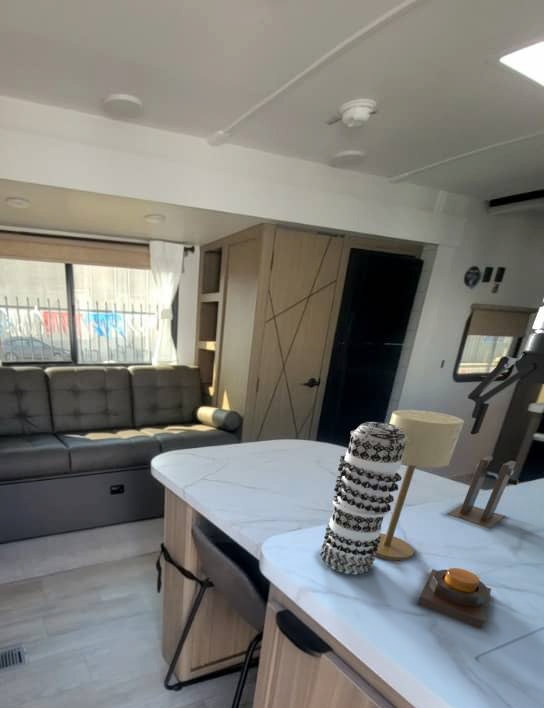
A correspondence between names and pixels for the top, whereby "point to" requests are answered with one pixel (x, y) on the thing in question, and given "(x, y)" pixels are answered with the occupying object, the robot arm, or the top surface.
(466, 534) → the top surface
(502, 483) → the stand
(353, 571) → the decorative candle
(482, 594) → the button block
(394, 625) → the top surface
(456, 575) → the button
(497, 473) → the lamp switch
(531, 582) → the top surface
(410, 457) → the lamp
